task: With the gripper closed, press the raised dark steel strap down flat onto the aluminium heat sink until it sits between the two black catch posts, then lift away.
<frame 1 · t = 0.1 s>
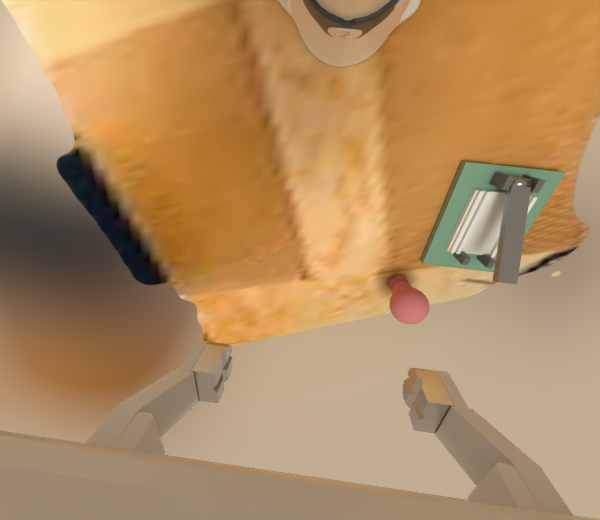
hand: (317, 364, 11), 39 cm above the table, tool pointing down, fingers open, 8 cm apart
heat sink board: (480, 220, 45), on the table
steel strap: (512, 230, 38), point 8 cm above the table, hinge at 30.0°
light bulb: (397, 279, 54), on the table
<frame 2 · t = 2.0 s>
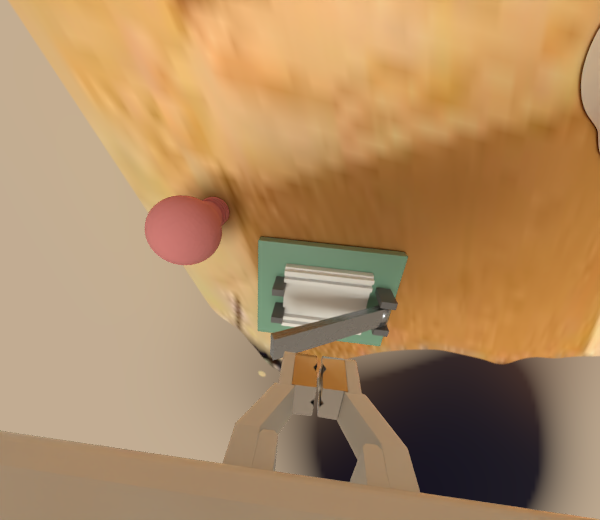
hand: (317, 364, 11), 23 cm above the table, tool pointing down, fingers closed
heat sink board: (324, 292, 36), on the table
steel strap: (336, 328, 29), point 8 cm above the table, hinge at 30.0°
light bulb: (218, 210, 32), on the table
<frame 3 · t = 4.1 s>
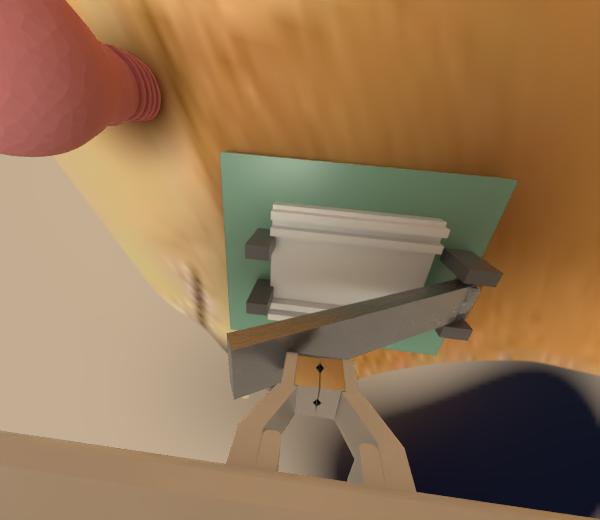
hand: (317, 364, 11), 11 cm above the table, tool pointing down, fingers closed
heat sink board: (343, 261, 21), on the table
steel strap: (378, 323, 14), point 8 cm above the table, hinge at 29.7°, touching gripper
light bulb: (143, 97, 17), on the table
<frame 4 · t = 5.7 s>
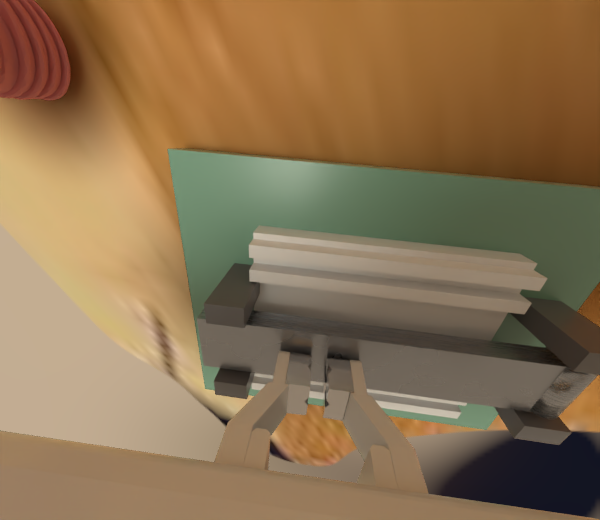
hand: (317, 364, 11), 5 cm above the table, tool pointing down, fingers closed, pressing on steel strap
heat sink board: (360, 305, 15), on the table
steel strap: (380, 359, 11), point 4 cm above the table, hinge at -0.1°, touching gripper
light bulb: (50, 62, 11), on the table
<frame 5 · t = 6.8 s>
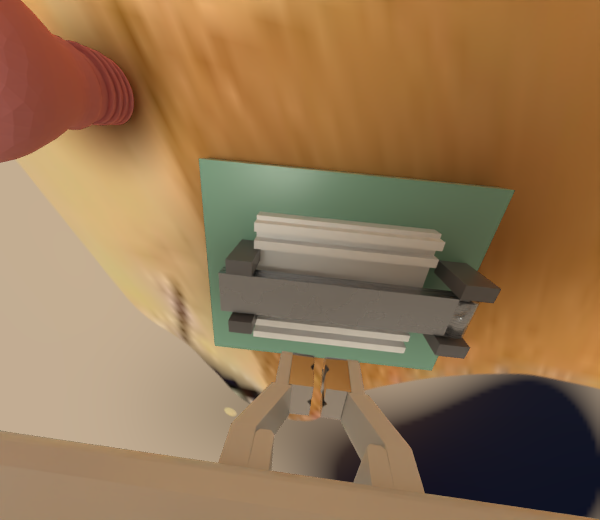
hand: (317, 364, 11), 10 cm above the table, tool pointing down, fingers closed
heat sink board: (334, 273, 20), on the table
steel strap: (344, 302, 16), point 4 cm above the table, hinge at -0.2°
light bulb: (116, 99, 15), on the table
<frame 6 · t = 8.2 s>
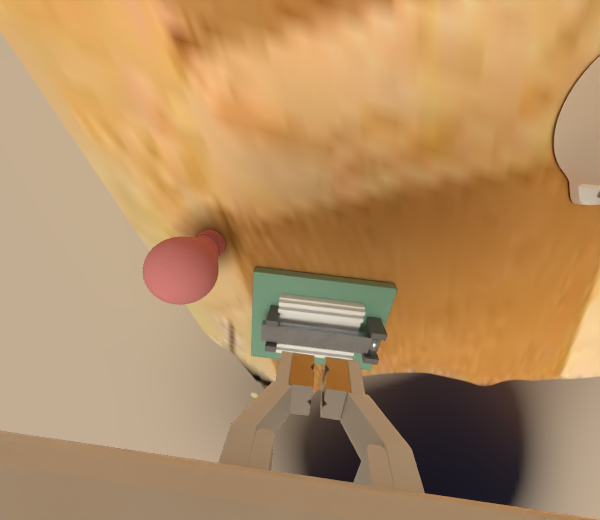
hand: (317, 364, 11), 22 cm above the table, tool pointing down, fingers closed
heat sink board: (317, 319, 37), on the table
steel strap: (320, 337, 34), point 4 cm above the table, hinge at -0.2°
light bulb: (214, 241, 33), on the table
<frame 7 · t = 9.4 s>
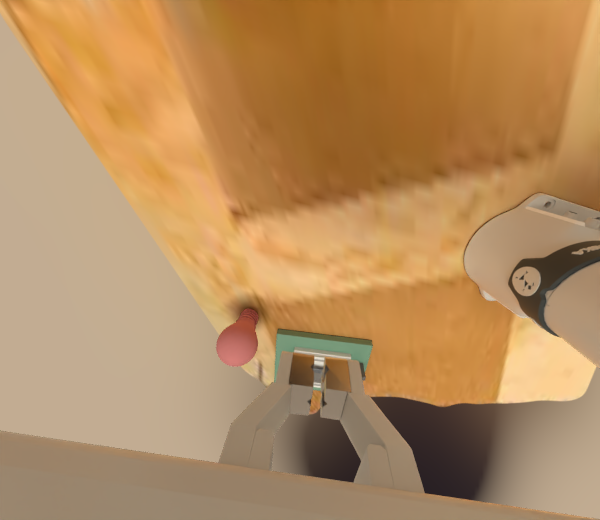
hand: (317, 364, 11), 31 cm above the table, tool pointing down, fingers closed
heat sink board: (319, 361, 54), on the table
steel strap: (321, 376, 50), point 4 cm above the table, hinge at -0.2°
light bulb: (250, 313, 50), on the table
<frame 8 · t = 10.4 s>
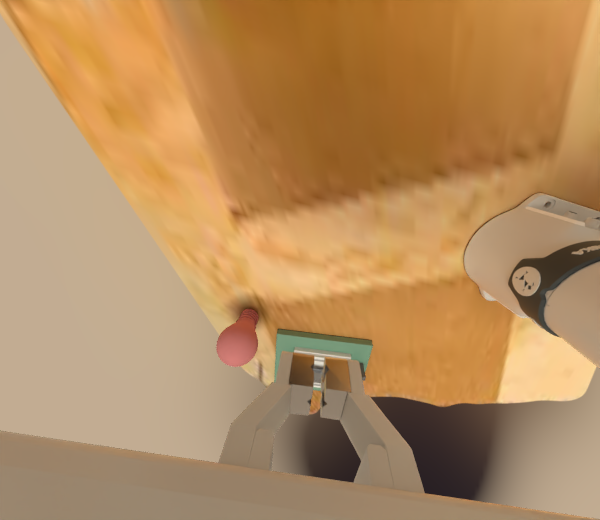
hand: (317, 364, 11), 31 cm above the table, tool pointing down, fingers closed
heat sink board: (319, 361, 54), on the table
steel strap: (321, 376, 50), point 4 cm above the table, hinge at -0.2°
light bulb: (250, 313, 50), on the table
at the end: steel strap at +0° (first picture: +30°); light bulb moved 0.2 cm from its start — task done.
